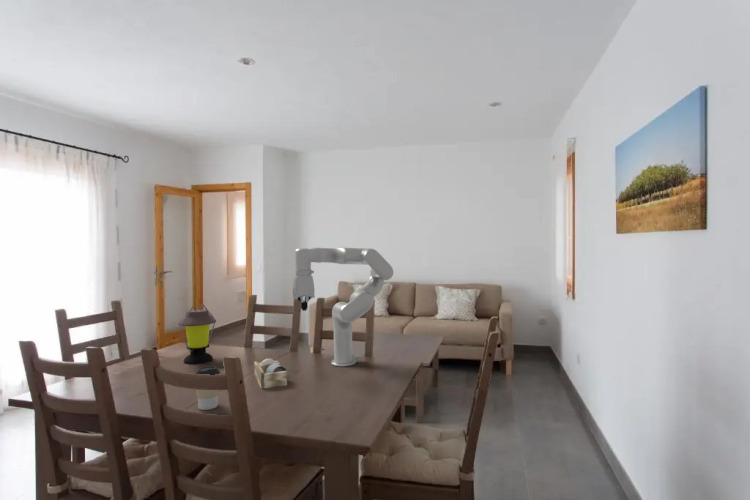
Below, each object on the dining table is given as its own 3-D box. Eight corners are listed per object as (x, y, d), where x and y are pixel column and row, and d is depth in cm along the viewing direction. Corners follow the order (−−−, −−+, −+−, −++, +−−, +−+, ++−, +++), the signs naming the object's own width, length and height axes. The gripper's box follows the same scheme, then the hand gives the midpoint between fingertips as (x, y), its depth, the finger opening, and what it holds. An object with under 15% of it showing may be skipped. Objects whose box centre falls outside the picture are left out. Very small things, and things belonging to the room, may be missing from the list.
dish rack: (278, 373, 213) (277, 358, 212) (286, 385, 194) (286, 369, 194) (254, 376, 208) (254, 361, 208) (261, 388, 190) (261, 372, 190)
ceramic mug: (279, 377, 206) (279, 360, 206) (288, 381, 200) (287, 364, 200) (258, 382, 199) (257, 365, 199) (266, 386, 193) (265, 369, 193)
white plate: (276, 374, 210) (276, 357, 210) (277, 375, 209) (276, 358, 209) (259, 376, 207) (259, 359, 207) (259, 377, 206) (259, 360, 206)
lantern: (212, 353, 255) (211, 301, 255) (228, 358, 242) (227, 304, 241) (168, 362, 237) (166, 306, 237) (183, 368, 224) (182, 309, 223)
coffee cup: (191, 406, 170) (190, 367, 170) (214, 400, 176) (213, 363, 176) (201, 412, 164) (200, 372, 164) (224, 406, 170) (223, 367, 170)
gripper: (315, 272, 226) (316, 308, 226) (286, 273, 220) (287, 310, 220) (320, 273, 219) (321, 310, 219) (290, 274, 213) (291, 312, 213)
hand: (304, 310), depth 219 cm, fingers closed
